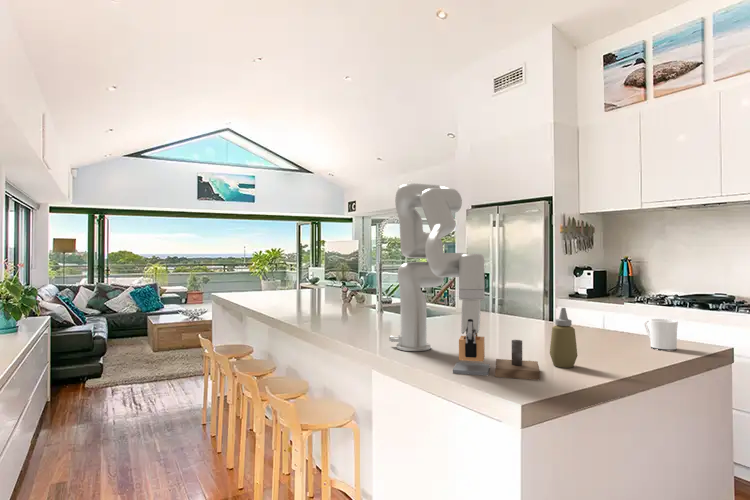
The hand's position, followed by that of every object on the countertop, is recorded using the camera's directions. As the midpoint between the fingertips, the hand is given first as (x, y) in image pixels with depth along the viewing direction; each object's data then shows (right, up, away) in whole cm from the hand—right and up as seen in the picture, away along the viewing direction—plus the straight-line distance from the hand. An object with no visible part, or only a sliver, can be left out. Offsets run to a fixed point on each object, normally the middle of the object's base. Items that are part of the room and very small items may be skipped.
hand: (471, 353), depth 143 cm
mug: (+75, -5, +32) cm, 82 cm away
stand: (+12, -5, -3) cm, 14 cm away
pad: (0, -5, 0) cm, 5 cm away
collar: (0, -1, 0) cm, 1 cm away
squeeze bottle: (+29, -5, +5) cm, 30 cm away
